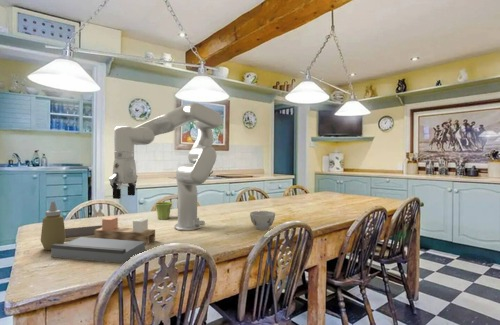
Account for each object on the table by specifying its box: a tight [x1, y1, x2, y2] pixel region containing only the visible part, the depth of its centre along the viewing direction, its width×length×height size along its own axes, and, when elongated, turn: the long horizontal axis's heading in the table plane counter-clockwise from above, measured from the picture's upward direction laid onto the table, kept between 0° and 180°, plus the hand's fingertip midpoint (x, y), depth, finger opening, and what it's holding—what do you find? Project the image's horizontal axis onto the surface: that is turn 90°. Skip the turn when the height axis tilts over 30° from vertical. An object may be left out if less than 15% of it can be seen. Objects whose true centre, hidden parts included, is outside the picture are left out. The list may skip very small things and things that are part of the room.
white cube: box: [132, 218, 149, 233], centre depth 119 cm, size 4×4×4 cm
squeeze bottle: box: [40, 201, 66, 251], centre depth 110 cm, size 8×8×18 cm
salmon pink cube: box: [101, 216, 119, 231], centre depth 121 cm, size 4×4×4 cm
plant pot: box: [154, 201, 173, 220], centre depth 162 cm, size 9×9×9 cm
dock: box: [50, 237, 146, 264], centre depth 105 cm, size 28×14×4 cm, turn 80°
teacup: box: [249, 210, 276, 231], centre depth 143 cm, size 15×12×8 cm
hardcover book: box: [64, 224, 102, 242], centre depth 128 cm, size 16×23×2 cm
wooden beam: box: [95, 227, 156, 246], centre depth 120 cm, size 24×6×5 cm, turn 80°
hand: (124, 196), depth 120 cm, fingers open, 9 cm apart
